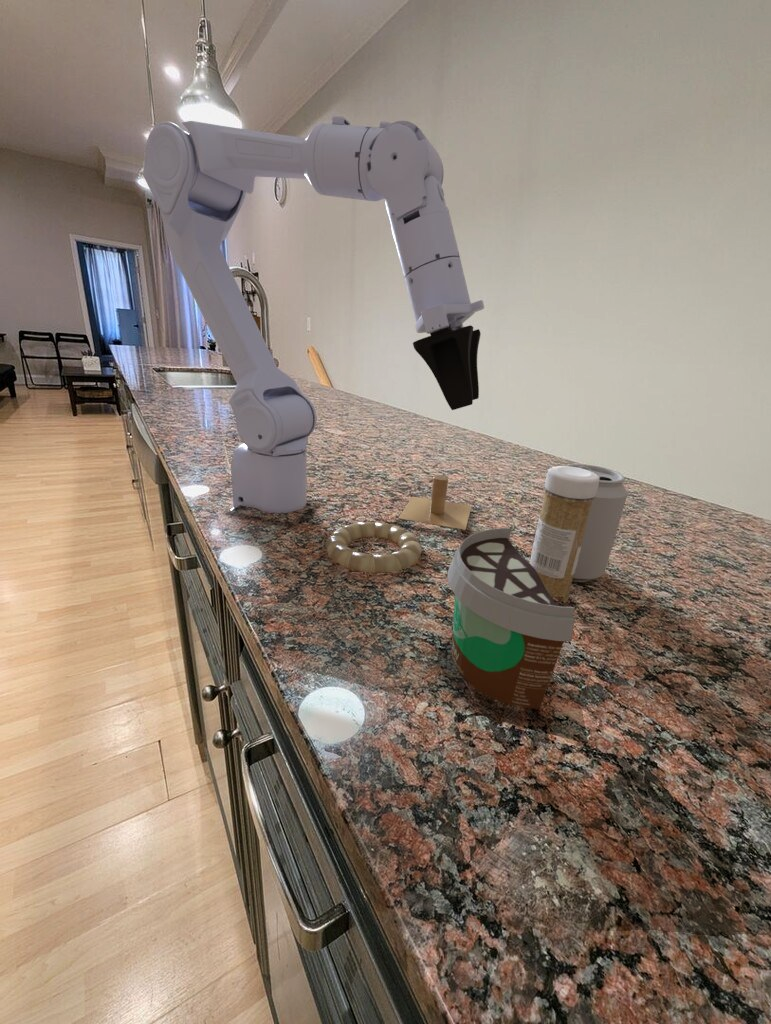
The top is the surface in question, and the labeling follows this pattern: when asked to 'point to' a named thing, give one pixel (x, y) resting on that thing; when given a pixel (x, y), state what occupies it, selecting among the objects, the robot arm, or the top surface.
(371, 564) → the ring
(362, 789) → the top surface
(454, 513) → the post
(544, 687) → the food container
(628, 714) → the top surface
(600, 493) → the can
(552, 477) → the spice jar
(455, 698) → the top surface
